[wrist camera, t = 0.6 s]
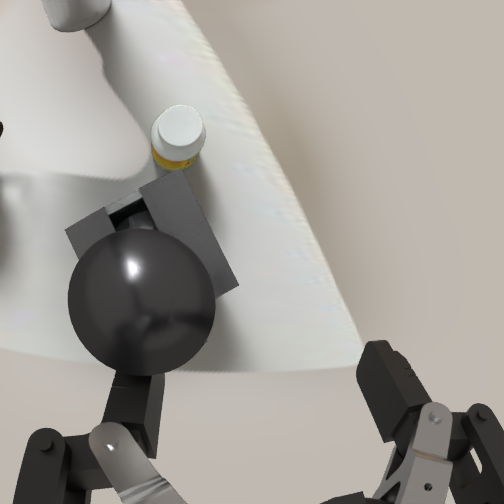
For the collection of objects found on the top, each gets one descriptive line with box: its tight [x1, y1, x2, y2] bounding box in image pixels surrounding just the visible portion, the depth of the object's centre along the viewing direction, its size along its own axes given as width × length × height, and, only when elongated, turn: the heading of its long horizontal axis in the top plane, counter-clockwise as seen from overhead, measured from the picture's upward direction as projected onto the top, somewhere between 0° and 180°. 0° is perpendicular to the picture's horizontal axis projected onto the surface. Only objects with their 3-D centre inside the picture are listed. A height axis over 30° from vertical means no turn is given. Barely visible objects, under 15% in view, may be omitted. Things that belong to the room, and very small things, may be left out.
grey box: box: [65, 168, 239, 343], centre depth 28 cm, size 13×10×14 cm
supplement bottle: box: [151, 105, 206, 172], centre depth 30 cm, size 5×5×10 cm
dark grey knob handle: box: [68, 211, 215, 376], centre depth 16 cm, size 7×7×18 cm
